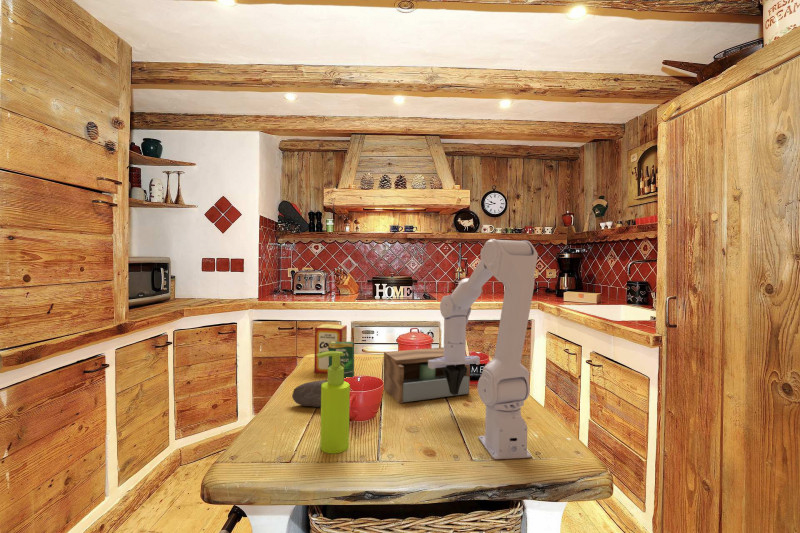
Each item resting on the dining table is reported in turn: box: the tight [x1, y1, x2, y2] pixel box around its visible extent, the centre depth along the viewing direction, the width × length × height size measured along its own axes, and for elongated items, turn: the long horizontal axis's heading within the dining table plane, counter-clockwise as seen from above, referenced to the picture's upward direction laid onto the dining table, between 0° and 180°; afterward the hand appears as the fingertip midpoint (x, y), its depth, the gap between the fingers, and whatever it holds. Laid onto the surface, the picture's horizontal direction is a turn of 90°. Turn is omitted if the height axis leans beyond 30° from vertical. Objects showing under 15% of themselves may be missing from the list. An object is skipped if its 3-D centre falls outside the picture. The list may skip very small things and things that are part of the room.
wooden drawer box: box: [382, 346, 471, 404], centre depth 116 cm, size 13×23×11 cm, turn 113°
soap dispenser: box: [316, 351, 351, 454], centre depth 81 cm, size 6×7×20 cm
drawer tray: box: [403, 375, 470, 403], centre depth 115 cm, size 11×21×5 cm, turn 113°
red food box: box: [313, 323, 348, 374], centre depth 136 cm, size 10×6×16 cm
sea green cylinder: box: [419, 362, 436, 381], centre depth 115 cm, size 5×5×7 cm
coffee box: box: [329, 341, 355, 378], centre depth 122 cm, size 8×3×13 cm, turn 86°
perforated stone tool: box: [291, 379, 328, 408], centre depth 103 cm, size 15×5×7 cm, turn 89°
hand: (453, 393), depth 101 cm, fingers closed
